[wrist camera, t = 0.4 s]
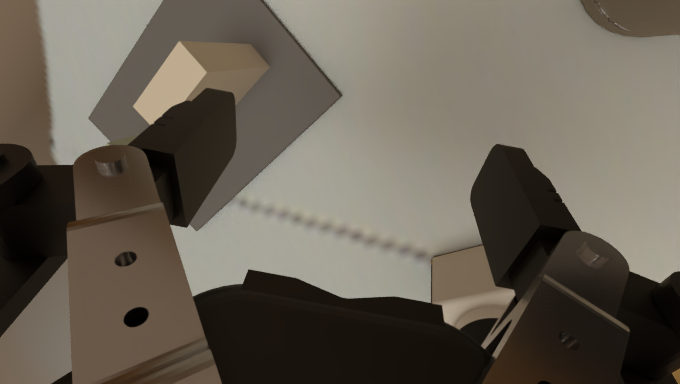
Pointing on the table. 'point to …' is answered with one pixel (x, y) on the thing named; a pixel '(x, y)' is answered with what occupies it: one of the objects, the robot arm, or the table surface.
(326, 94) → the slate mat
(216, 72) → the plain beige block
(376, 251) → the table surface
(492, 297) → the medicine bottle
